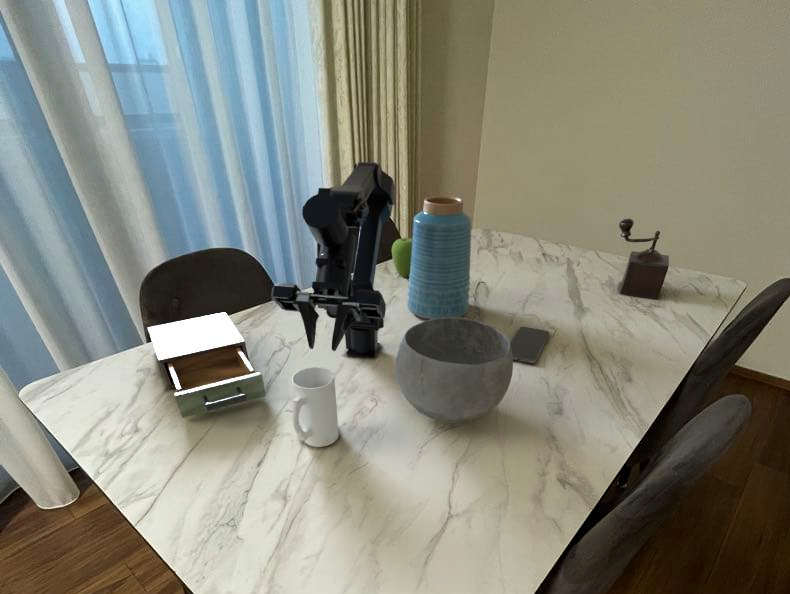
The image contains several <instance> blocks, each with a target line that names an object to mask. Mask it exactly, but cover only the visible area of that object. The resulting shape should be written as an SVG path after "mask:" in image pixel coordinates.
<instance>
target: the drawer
mask: <svg viewBox="0 0 790 594" xmlns="http://www.w3.org/2000/svg"><path fill="white" fill-rule="evenodd" d="M249 362H250V360H249V361H248V360H247V358H246V357H245V355H244V354H243V352H242V351H241V349H240V347H239V346H237V347H232V348H228V349H223V350H219V351H214V352H210V353H206V354H201V355H197V356H192V357H188V358H183V359H179V360H175V361H170V362H167V365H168V368H169V370H170V373H171V376H172V379H173V382H174V384H175V387H176V388H175V389H176V392H174V393H173V396H174V400H175V402H176V404H177V407H178V410H179V413H180V416H181V418H182V419H187V418H190V417H193V416H197V415H201V414H204V413H209V412H213V411H215V410H219V409H223V408H227V407H230V406H234V405H238V404H241V403H244V402H249V401H252V400H256V399H260V398H263V397H266V396H267V394H266V389H265V384H264V379H263V375H262V373H261V372H260V371H257V372H255V370H254V368H253V366H252V365H251V363H249Z"/></svg>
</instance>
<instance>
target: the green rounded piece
mask: <svg viewBox="0 0 790 594" xmlns="http://www.w3.org/2000/svg"><path fill="white" fill-rule="evenodd" d="M411 251H412V238H410V237H406V236H405V237H401V238H398V239H396V240H395V241H394V242H393V244H392V246H391V256H392V257H391V258H392V261H393V265H394V267H395V269H396V272H397V273H398V274H399V276H400V277H401V278H408V277H409V274H410V266H411V265H410V264H411Z"/></svg>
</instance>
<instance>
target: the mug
mask: <svg viewBox="0 0 790 594" xmlns="http://www.w3.org/2000/svg"><path fill="white" fill-rule="evenodd" d="M291 383H292V389H293V394H294V399H293V400H292V412H291V413H292V415H291V417H292V426H293V430H294V431H295V433H296V435H297V437H298V439H299V440H300V441H303V442H304V443H305V444H306V445H308V446H310V447H315V448H322V447H328V446H330V445H332V444H334V443H335V442H336V441H337V440H338V438H339V434H340V433H339V419H338V408H337V407H338V406H337V396H336V395H337V394H336V382H335V373H334V372H333V371H332V370H330V369H329V368H327V367H322V366H310V367H304V368H301V369H299V370H297V371H296V372H295V373H294V374H293V375H292V377H291Z"/></svg>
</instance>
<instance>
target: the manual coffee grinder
mask: <svg viewBox="0 0 790 594" xmlns="http://www.w3.org/2000/svg"><path fill="white" fill-rule="evenodd" d="M633 227H634V220H633V219H632V218H624V219H622V220H621V221H620V222H619V223H618V228H619V230H620V231H621V234H620V237H621V238H623V239H624V240H625V242H628V243H648V242H652V244H651V246H650V247H649V248H647V249H645V250H642V251H633V250H631V252H630V254H629V258H628V261H627V263H626V267H625V269H624V272H623V277H622V280H621V283H620V286H619V293H620V295H624V296H629V297H637V298H642V299H643V298H644V299H652V300H658V299H659V297H660V294H661V291H662V288H663V285H664V282H665V279H666V276H667V273H668V271H669V266H670V256H669V255H668V254H663V253H662V254H661V252H659V251H658V250H656V245H657V241H658V240H659V239H660V235H661V231H660V230H656V231H655V233H654V236H653V237H649V238H630V236H632V232H631V230H632V228H633Z"/></svg>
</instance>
